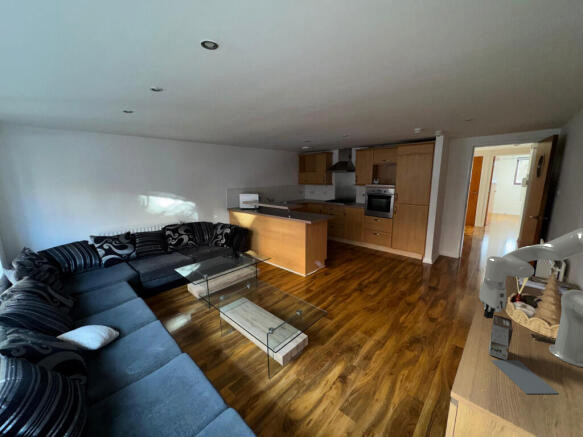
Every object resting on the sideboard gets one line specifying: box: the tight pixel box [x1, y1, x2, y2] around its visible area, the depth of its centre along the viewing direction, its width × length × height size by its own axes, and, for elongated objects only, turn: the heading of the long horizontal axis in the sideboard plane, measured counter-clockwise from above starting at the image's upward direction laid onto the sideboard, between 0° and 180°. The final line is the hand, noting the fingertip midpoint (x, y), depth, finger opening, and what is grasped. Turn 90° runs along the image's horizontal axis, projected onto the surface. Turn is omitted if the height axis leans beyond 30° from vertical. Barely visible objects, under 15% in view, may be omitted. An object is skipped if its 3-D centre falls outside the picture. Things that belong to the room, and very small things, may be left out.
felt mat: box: [490, 359, 559, 395], centre depth 95 cm, size 12×16×1 cm
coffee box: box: [488, 314, 514, 360], centre depth 106 cm, size 9×6×16 cm
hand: (488, 317), depth 112 cm, fingers closed
